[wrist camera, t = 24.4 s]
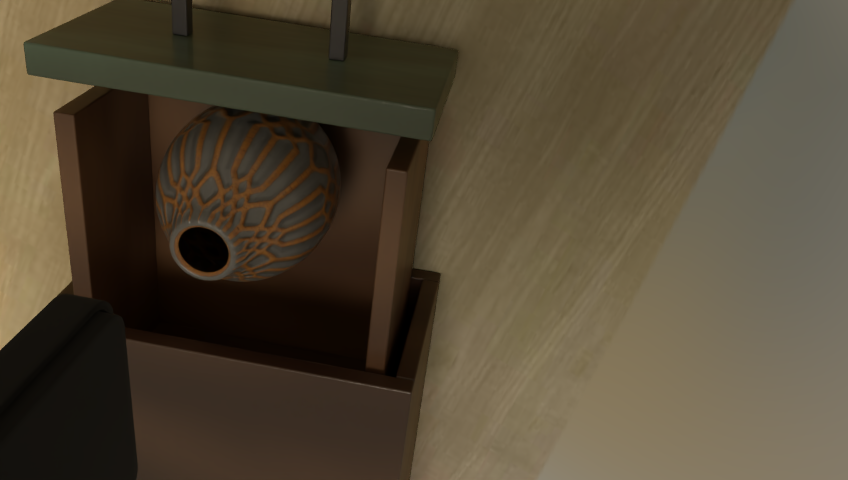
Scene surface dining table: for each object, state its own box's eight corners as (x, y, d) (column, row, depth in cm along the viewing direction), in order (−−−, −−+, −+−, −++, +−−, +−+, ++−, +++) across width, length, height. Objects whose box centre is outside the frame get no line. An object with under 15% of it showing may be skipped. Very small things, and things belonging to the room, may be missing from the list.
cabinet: (132, 218, 40) (30, 321, 33) (440, 273, 39) (412, 392, 32) (149, 473, 49) (72, 603, 41) (403, 523, 48) (372, 667, 40)
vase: (385, 186, 35) (338, 293, 28) (261, 246, 38) (186, 360, 30) (298, 47, 33) (220, 122, 25) (170, 120, 35) (65, 210, 28)
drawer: (111, -154, 31) (-2, -141, 25) (480, -100, 30) (460, -73, 24) (142, 316, 42) (68, 408, 36) (413, 367, 41) (388, 470, 35)
